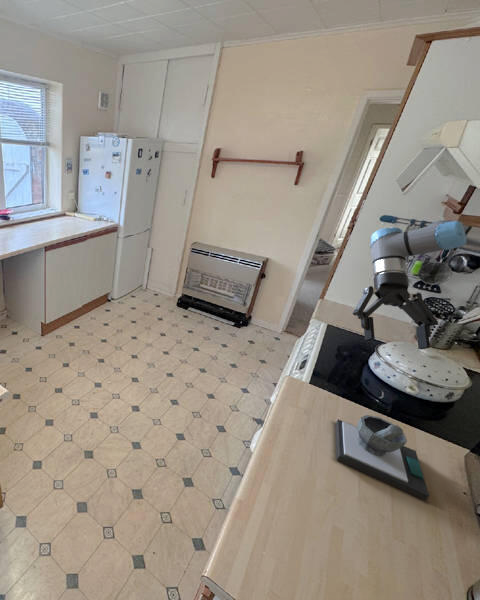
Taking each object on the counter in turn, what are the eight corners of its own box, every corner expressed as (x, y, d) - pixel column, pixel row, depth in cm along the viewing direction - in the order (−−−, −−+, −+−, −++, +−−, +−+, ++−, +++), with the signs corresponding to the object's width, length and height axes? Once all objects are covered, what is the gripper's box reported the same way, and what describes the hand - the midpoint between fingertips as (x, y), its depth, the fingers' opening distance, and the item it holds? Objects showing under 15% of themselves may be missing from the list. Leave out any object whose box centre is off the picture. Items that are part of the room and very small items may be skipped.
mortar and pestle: (348, 427, 95) (367, 396, 90) (388, 442, 91) (410, 411, 86) (353, 454, 86) (375, 422, 81) (398, 472, 82) (424, 440, 77)
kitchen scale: (411, 455, 91) (416, 449, 89) (424, 500, 79) (430, 494, 77) (335, 423, 99) (338, 417, 98) (336, 460, 87) (340, 453, 86)
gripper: (426, 287, 99) (435, 354, 92) (336, 275, 103) (339, 338, 97) (449, 277, 92) (461, 349, 85) (352, 265, 96) (356, 333, 90)
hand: (396, 344), depth 91 cm, fingers open, 13 cm apart
